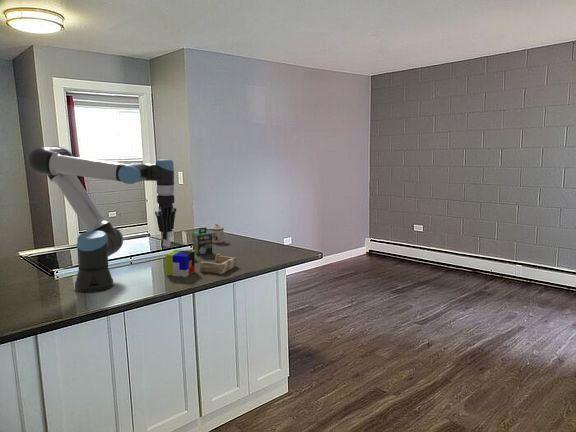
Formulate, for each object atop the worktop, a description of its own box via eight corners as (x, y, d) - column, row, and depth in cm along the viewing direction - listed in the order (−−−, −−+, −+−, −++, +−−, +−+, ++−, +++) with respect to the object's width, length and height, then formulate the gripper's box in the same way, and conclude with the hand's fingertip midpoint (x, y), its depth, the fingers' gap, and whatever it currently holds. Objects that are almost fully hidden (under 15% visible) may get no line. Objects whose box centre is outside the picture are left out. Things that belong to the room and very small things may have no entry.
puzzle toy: (185, 277, 203) (185, 256, 201) (166, 275, 205) (165, 254, 203) (194, 271, 212) (194, 251, 211) (175, 269, 214) (175, 249, 213)
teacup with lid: (206, 241, 274) (206, 224, 272) (215, 239, 282) (215, 222, 280) (221, 244, 268) (221, 226, 267) (230, 242, 276) (230, 224, 274)
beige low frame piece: (220, 274, 208) (220, 264, 207) (173, 267, 217) (172, 257, 216) (237, 265, 224) (237, 256, 224) (192, 259, 234) (192, 250, 233)
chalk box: (206, 249, 255) (206, 225, 252) (213, 253, 247) (213, 228, 245) (191, 251, 250) (191, 226, 247) (197, 255, 242) (197, 229, 240)
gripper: (163, 196, 184) (164, 250, 188) (181, 193, 196) (182, 243, 200) (149, 195, 187) (150, 248, 191) (167, 192, 199) (168, 242, 203)
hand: (166, 245), depth 196 cm, fingers closed
